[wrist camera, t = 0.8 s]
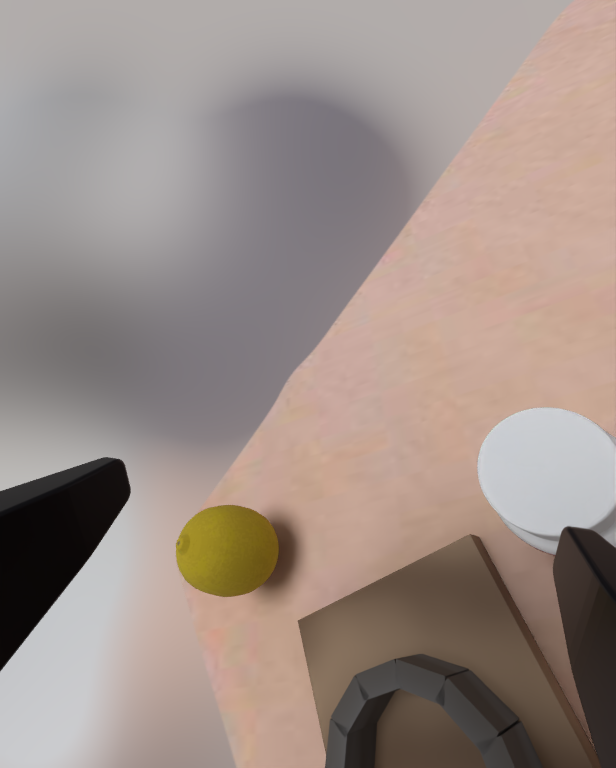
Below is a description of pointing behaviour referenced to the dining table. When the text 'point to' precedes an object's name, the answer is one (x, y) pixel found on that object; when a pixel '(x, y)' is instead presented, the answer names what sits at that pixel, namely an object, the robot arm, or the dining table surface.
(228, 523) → the lemon
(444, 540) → the dining table surface
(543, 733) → the socket board
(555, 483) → the pill bottle
